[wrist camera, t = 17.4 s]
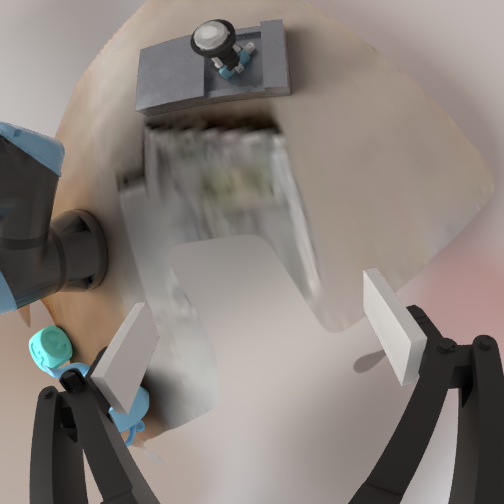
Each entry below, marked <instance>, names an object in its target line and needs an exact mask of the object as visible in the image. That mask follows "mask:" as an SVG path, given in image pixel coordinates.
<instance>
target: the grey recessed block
mask: <svg viewBox="0 0 504 504" xmlns="http://www.w3.org/2000/svg"><path fill="white" fill-rule="evenodd" d="M260 25H261V26H258V27H250V28H243V29H237V30H235V33H236V43H235V44H237V45H239V46H240V47H241V48H242V47H244V46H246V45H247V44H248V43H250V42H252V43H253V44H254V46H255V47H256V48H255V49H254V50H253V51H252V52H251V54H249V56H250V60H249V61H247V62H246V63H245V64H244V65H243V67H244V69H243V70H242V71H241V72H240V73H238V72H237V71H236V72H235V73H234V74H233V75H232V76H231V77H230V78H229V79H227V80H226V79H225V78H224V77H223V76H221V75H220V74H219V73H218V72H217V71H216V70H215V69H214V68H213V67H212V66H211V65H212V64H213V63H214V61H213V60H212V59H211V58H210V59H209V58H205V57H203V56H200V55H198V54H197V53H195V52H194V51H193V49H192V48H191V45H190V40H191V36H192V35H188V36H184V37H180V38H177V39H173V40H170V41H166V42H163V43H160V44H157V45H154V46H151V47H148V48H145V49H142V50H140V59H139V68H138V79H137V91H136V107H135V111H137V112H140V113H142V114H145V115H147V116H151V115H155V114H159V113H164V112H169V111H173V110H178V109H184V108H189V107H195V106H200V105H207V104H213V103H220V102H227V101H235V100H243V99H253V98H264V97H276V96H291V88H290V74H289V61H288V49H287V38H286V31H285V27H284V24H283V20H271V21H262V22H260ZM228 34H229V35H230V32H229V31H228ZM249 46H251V44H250V45H249ZM250 49H253V47H251V48H250ZM200 50H202V51H204V50H203V49H202V48H200ZM241 69H242V68H241ZM241 69H240V70H241ZM240 70H239V71H240Z"/></svg>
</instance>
